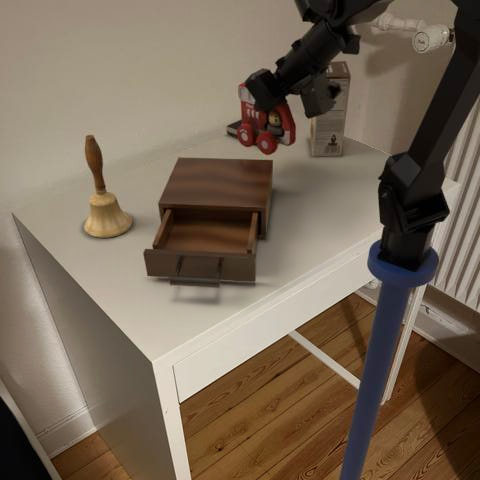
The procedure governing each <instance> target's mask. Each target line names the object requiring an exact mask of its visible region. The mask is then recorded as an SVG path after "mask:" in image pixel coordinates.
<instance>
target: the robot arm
mask: <svg viewBox="0 0 480 480" xmlns="http://www.w3.org/2000/svg"><path fill="white" fill-rule="evenodd" d="M394 1H395V0H293V2H294V4H295V6H296V9H297V11H298V14H299V17H300V18H301V21H302V22H303V23H311V24H312V26H311V27H310V28H309V29H308V30H307V31H306V33H304V34H303V36H301V37H300V38H298V39H296V40H294V41H293V42H292V43H291V45H290V47H291V48H290V50H289V51H288V52H287V53H286V54H285V55H283V56H281V57H279V58H278V59H277V60H276V61H275V62H274V64H275V66H276V69H275V70H274V72H272V71H271V70H270V68H260V69H258V70H256V71H254V72H253V73H251V74H250V75H249V76H248V77H247V78H246V79H245V81H244V82H245V87H246V88H247V89H248V91H249V92H250V94H251V95H252V96H253V98H254V99H255V103H254V109H255V111H256V112H259V111H260V110H262V111H263V112H264V113H266V114H269V113H271V112H272V111H274V110H276V109H277V108H278V107H279V106H282V105H283V104H285V103H288V102H289V101H288V99H287V97H289V95H292V96H299V98H300V100H301V104H302V106H303V109H304V111H303V112H304V116H305V117H306V119H308V120H311V118H313V117H317V116H320V115H323V114H325V113H327V112H328V111H330V110H331V109H332V108H333V107H334V104H335V103H336V101H334V99H336V98H337V97H338V95H339V94H340V93H341V92H342V89H341V85H340V83H337V82H332V81H330V79H328V80H326V74H327V69H329V65H330V62H333V61H334V59H336V57H337V56H338V55H340V53H341V54H343V55H352V56H353V55H354V56H358V55H360V49H361V39H362V35H361V34H357V33H355V31H354V29H353V26H357V25H363V24H367V23H371V22H374V21H375V20H376V19H378V18H379V17H380V16H381V15H383V14H384V13H385V12H386V11H387V10H388V8H389V5H391V4H392V3H393V2H394ZM450 2H452V4H453V5H455V6H456V8H457V9H456V12H455V16H454V20H453V30H454V31H453V32H454V43H455V47H454V50H453V52H452V55H451V57H450V59H449V61H448V63H447V66H446V67H445V69H444V72H443V74H442V77H441V79H440V81H439V82H438V84H437V87H436V89H435V91H434V92H433V93H434V94H433V96H432V98H431V99H430V102H429V104H428V106H427V108H426V111H425V113H424V115H423V118H422V120H421V121H420V123H419V126H418V128H417V130H416V133H415V135H414V137H413V139H412V141H411V143H410V145H409V147H408V149H407V150H405V151H402V152H398V153H395V154H392V155H389V156H388V157H387V159H386V161H385V163H384V167H383V170H382V172H381V174H380V175H379V176H377V180H378V181H379V183H378V187H377V201H378V215H379V216H378V217H379V223H380V224H381V225H383V227H382V231H381V237H380V239H381V241H380V246H379V248H380V249H381V251H380V252H379V253H378V255H377V259H379V260H382V261H384V262H387V263H390V264H393V265H395V266H398V267H401V268H404V269H406V270H409V271H412V272H416V271H417V270H418V269H419V268H420V266H421V265H422V264H423V263H424V261H425V260H426V259H427V257H428V256H429V255H430V253H431V250H430V249H429V247H430V246H431V243H432V239H433V235H434V233H435V228H436V225H437V224H439V223H443V222H445V221H446V220H447V218H448V217H449V216H450V214H451V210H450V207H449V204H448V201H447V199H446V196H445V194H444V191H443V185H444V183H445V182H444V181H445V179H446V169H445V163H444V162H445V159H446V157H447V155H448V153H449V152H450V150H451V148H452V147H453V145H454V143H455V142H456V140H457V137H458V135H459V133H460V132H461V130H462V128H463V126H464V124H465V123H466V120H467V119H468V117H469V115H470V113H471V112H472V110H473V108H474V106H475V104H476V102H477V101H478V99H479V97H480V0H450Z"/></svg>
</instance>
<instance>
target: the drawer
mask: <svg viewBox="0 0 480 480" xmlns="http://www.w3.org/2000/svg"><path fill="white" fill-rule="evenodd" d="M259 219H260V211H237V210H211V209H185V208H167V210H166V213H165V215H164V217H163V220H162V222H161V221H160V225H159V227H158V230H157V231H156V235H155V237H154V239H153V241H152V244H151V247H152V248H145V249H144V251H143V259H144V264H145V271H146V276H147V277H153V278H169V285H170V286H175V287H176V286H177V287H178V286H179V287H197V288H212V289H219V288H220V287H221V281H230V282H231V281H232V282H250V283H256V280H257V254H256V249H257V242H258V239H257V236H258V230H259V223H260V220H259Z"/></svg>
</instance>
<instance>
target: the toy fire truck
mask: <svg viewBox="0 0 480 480" xmlns="http://www.w3.org/2000/svg"><path fill="white" fill-rule="evenodd" d="M237 93H238V94H237V95H238V99H239V101H240V112H241V116H240V117H241V119H242V126H240V127H239V128H238V130H237V137H238V138H237V137H236V138H237V140H238V142H239V143H240V145H242V146H243V147H245V148H250V147H252V146H254V145H255V143H256V141H257V145H258V146H257V145H256V146H257V147H258V148H257V149H258V150H259V151H260V152H261V153H262V154H263V155H266V156H271V155H272V154H274V153H275V152H277V150H278V146H279V144H280V145H283V146H286V147H291V146H292V145H294V144H295V143H296V139H297V138H296V137H297V125H296V122H295V119H294V116H293V113H292V110H291V108H290V105H289V103H288V102H287V103H285V104H283V105H282V106H279V107H278V108H277V109H276V110H274V111H272V112H271V113H269V114H266V113H264V112H263V111H262V110H260V111H259V112H256V111H255V109H254V103H255V99H254V98H253V96H252V95H251V94H250V92H249V91H248V89H247V88H246V87H245V81H243V82H241V83H240V84H239V85H238V86H237ZM257 137H258V138H257Z"/></svg>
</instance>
